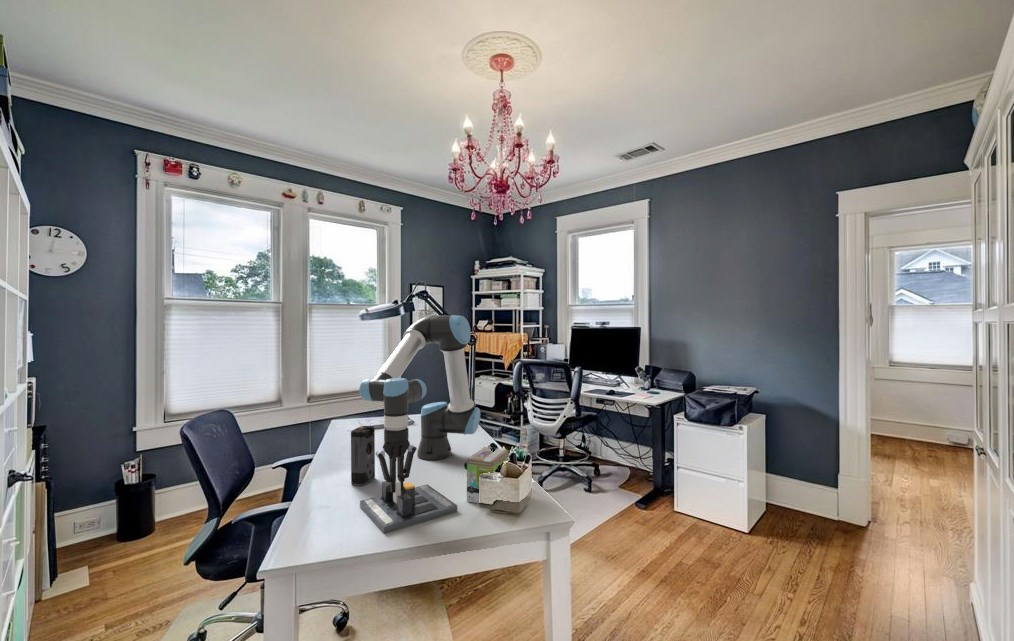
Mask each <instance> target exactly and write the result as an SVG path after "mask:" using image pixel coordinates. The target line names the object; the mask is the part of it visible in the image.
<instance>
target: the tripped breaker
mask: <svg viewBox="0 0 1014 641" xmlns="http://www.w3.org/2000/svg"><path fill="white" fill-rule="evenodd" d="M415 487H416V486H415V485H414V484H413V483H412V482H411V481H408V482H405V483H404V482H403V490H402V491H401V495H404V494H408V495H409V496H410V497H411V498H412V504H414V503H415Z"/></svg>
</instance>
